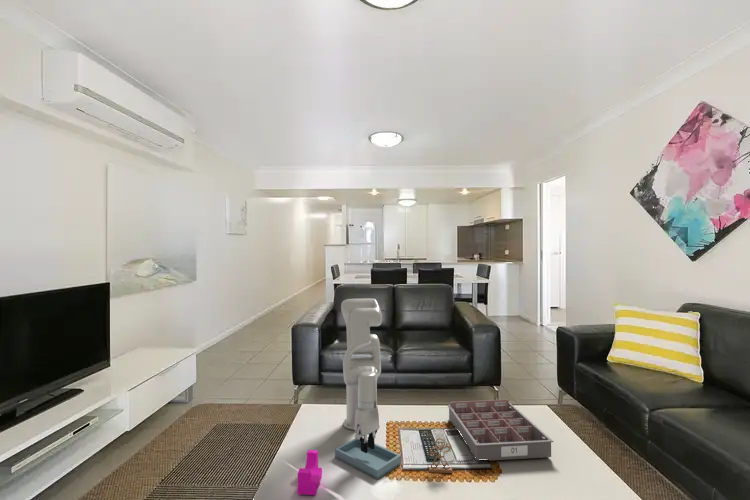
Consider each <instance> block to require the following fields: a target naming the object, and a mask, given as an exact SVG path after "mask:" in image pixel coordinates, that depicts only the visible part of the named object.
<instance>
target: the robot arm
mask: <svg viewBox="0 0 750 500" xmlns="http://www.w3.org/2000/svg"><path fill="white" fill-rule="evenodd" d="M340 306H341V307H340V310H341V314H342V317H343V320H344V323H345V327H346V328H345V329H346V347H347V349H346V351H345V353H344V355H343V360H342V370H343V371H342V373H343V382H344V384H345V385H346V387H345V388H346V418H345V419H344V420H343V423H342V425H343V427H344V428H346V429H348V430H351V431H352V430H353V431H354V433H355V435H354V439H358V440H359V441H360V442H361V451H362V452H364V453H367V452H368V447H369V448H371V449H374V443H375V439H376V438H377V437H376V435H377V433H378V431H379V429H380V427H381V426H380V414H379V407H378V396H377V395H378V391H377V389H378V388H377V387H378V385H377V383H378V382H377V381H378V378H379V376H380V375H381V373H382V363H381V362H382V361H381V360H382V359H381V342H380V339H379V337H378V335H377V334H374V333H371V327H379V326H381V325H382V322H383V314H382V311H381V308H380V305H379V303H378V301H377V299H376V298H369V297H368V298H367V297H366V298H359V297H358V298H347V299H344V300H343V301H342V302H341V305H340ZM352 355H353V356H354V355H355V356H356V355H357V356H359V355H370V356H368V357H367V356H366V357H364V356H363V357H362V356H361V357H352ZM367 440H368V443H367V442H366V441H367Z"/></svg>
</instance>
